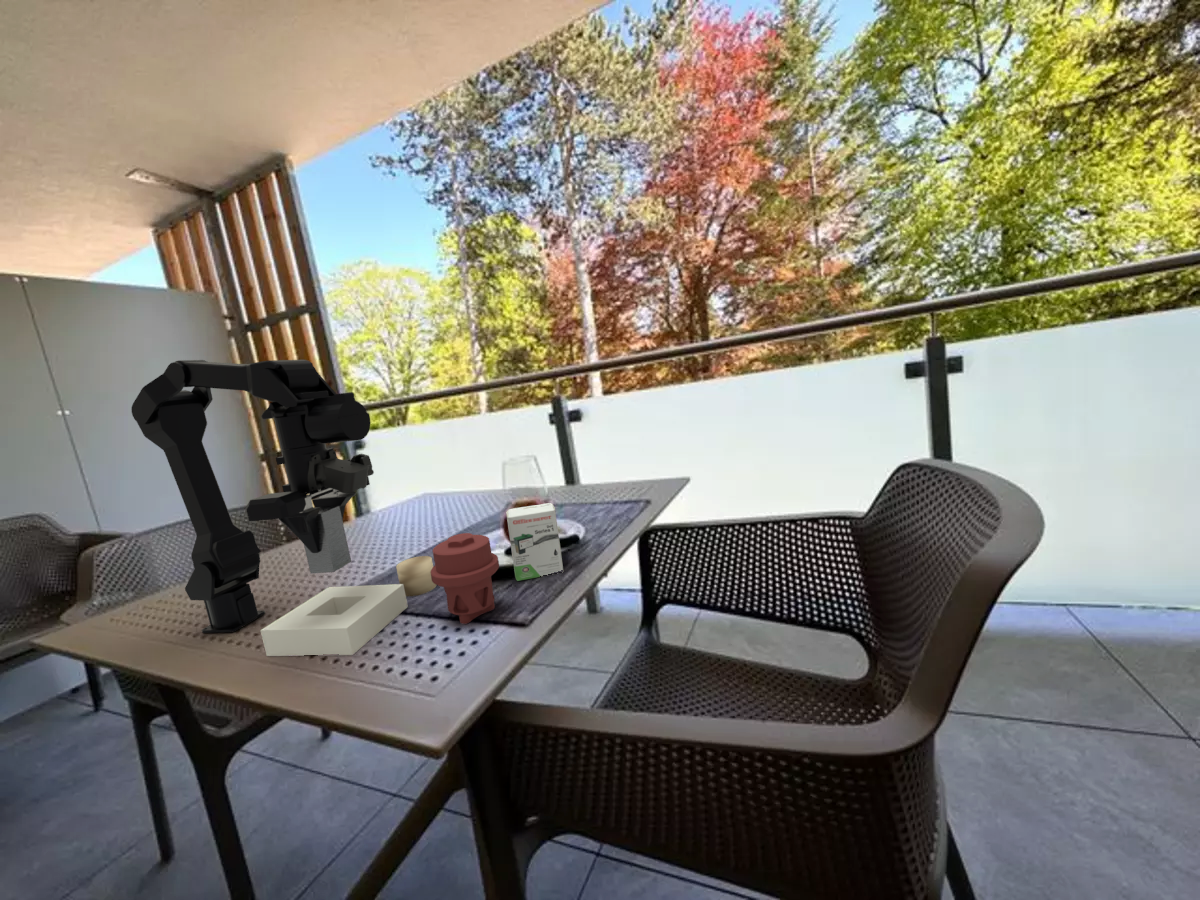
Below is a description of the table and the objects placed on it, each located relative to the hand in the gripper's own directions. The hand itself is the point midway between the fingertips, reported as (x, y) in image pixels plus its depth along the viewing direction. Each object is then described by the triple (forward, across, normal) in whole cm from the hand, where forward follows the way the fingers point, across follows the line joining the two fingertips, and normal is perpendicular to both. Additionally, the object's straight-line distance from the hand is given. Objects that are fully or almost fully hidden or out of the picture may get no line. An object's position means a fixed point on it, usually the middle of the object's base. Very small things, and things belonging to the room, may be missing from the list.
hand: (326, 547), depth 77 cm
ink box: (+14, +18, -26) cm, 35 cm away
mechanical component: (+14, +3, -20) cm, 24 cm away
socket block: (+13, -1, 0) cm, 13 cm away
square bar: (+3, 0, 0) cm, 3 cm away
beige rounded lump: (+13, +13, -5) cm, 19 cm away
